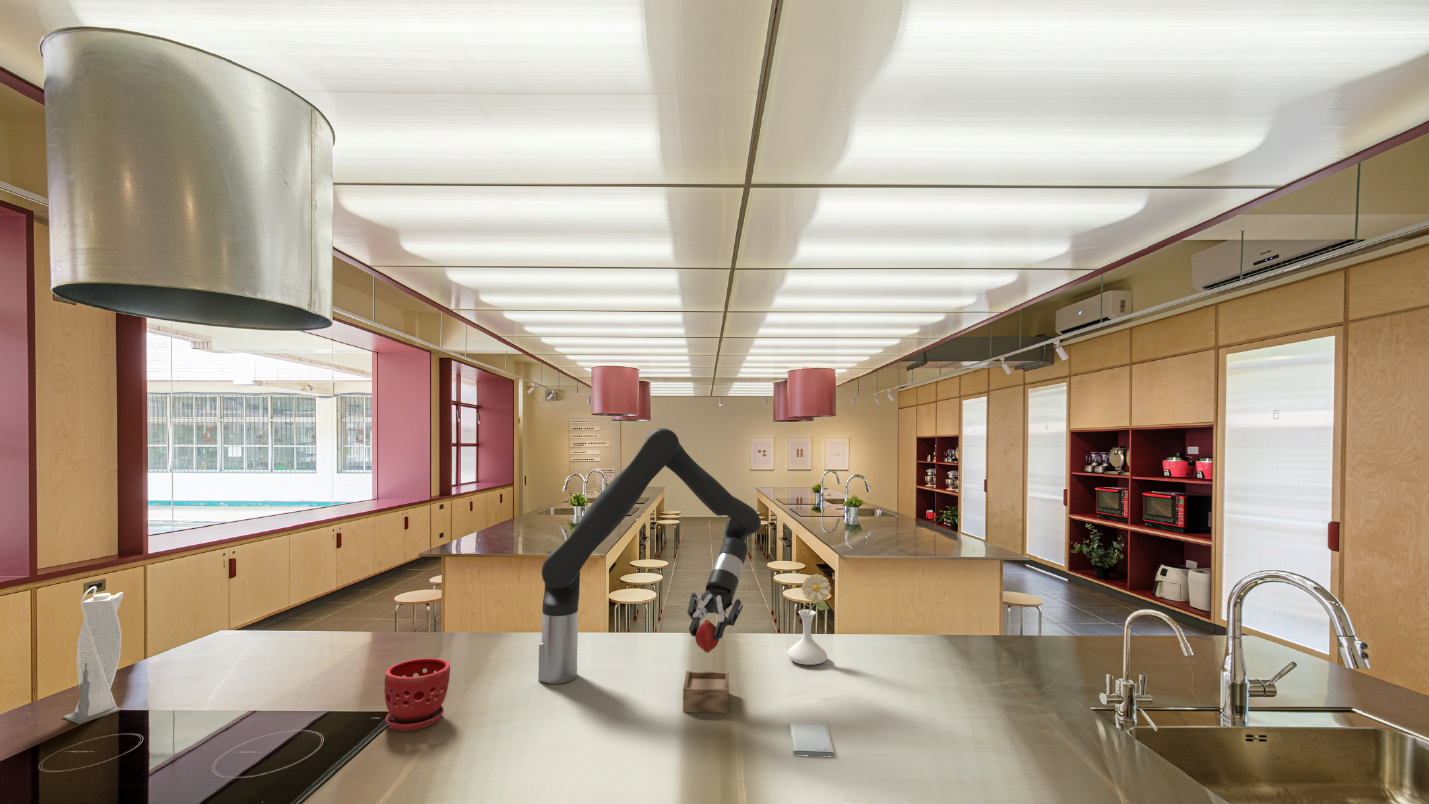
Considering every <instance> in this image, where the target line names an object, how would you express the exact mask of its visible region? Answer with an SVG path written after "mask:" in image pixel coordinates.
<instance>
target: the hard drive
mask: <svg viewBox="0 0 1429 804" xmlns="http://www.w3.org/2000/svg"><path fill="white" fill-rule="evenodd" d="M788 725H789V726H788V727H790V728H789V735H791V736H790V742H792V743H791V747H792V748H793V750H792V754H793V755H808V756H807V757H811V756H831V757H830V758H835V752H834V749H833V748H834V747H833V744H832V741H831V737H830V733H829V730H828V726H827V723H825V722H816V721H815V722H814V721H813V722H811V721H809V722H808V721H790V722H789V723H788ZM792 748H791V749H792ZM793 755H792V756H793Z"/></svg>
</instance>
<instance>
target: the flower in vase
mask: <svg viewBox="0 0 1429 804" xmlns="http://www.w3.org/2000/svg"><path fill="white" fill-rule="evenodd" d="M830 585H831V583H830V582H829V579H828V578H827V577H824V576H823V575H821V574H818V573H816V574H811V575H810V576H808V577H807V576H806V577H805V579H804V580H803V583H802V585H801V591H802V594H804V595H803V597H804V598H806V600H808V601H812V602H813V605H811V607H810V606H809V604H807V603H805V602H803V601H801V600H800V599H798V601H799V602H800V603H801V604H804V605H805V606H807V607H809V608H810V609H800V610H799V611H798V614H799V615H800V617H801V621H802V629H803V630H802V637H801V639H800V640H799V641H797V642H796V643H795V644H793V645H792V646H791V647H790V648H789V649H788V650H787V653H786V656H787V657H788V659H789V660H791V662H794V663H797V664H799V665H806V666H814V665H815V666H816V665H819V664H822V663H824V662H826V661H827V658H828V654H827V652H826V651H825V650H824V648H823V647H821V645H819V644H818V643H817V642H816V641H815V640H814V639H813V636H812V623H813V619H814V617H815V615H816V614H817V612H816V611H815V610H813V607H815V606H816V608H817V610H819V611H827V610H829V609H831V608H830V606H829V605H828V604H827V603H826V602H825V600H827V599H828V595H830V593H831V589H832V587H831V586H830Z"/></svg>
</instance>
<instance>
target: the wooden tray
mask: <svg viewBox="0 0 1429 804" xmlns="http://www.w3.org/2000/svg"><path fill="white" fill-rule="evenodd" d="M684 677H685V678H684V682H683V687H682V688H683V689H682V690H683V691H682V712H683V713H713V714H717V713H718V714H719V713H720V714H729V710H730V709H729V707H730V706H729V704H730V703H729V699H730V697H729V695H730V692H729V691H730V688H729V687H730V679H729V677H730V673H729V671H706V670H705V671H698V670H697V671H695V670H692V671H691V670H686V672H685V676H684Z"/></svg>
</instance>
